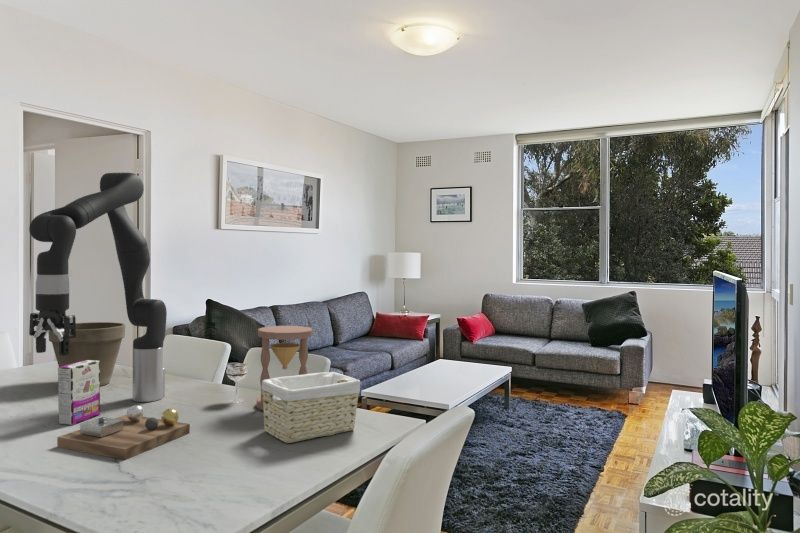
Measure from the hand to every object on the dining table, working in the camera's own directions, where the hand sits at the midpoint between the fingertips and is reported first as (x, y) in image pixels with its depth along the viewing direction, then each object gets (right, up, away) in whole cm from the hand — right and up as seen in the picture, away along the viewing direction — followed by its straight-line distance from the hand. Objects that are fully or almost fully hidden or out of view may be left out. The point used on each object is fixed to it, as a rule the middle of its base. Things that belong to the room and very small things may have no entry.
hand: (52, 353), depth 149 cm
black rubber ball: (+26, -20, +1) cm, 33 cm away
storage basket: (+66, -24, +11) cm, 71 cm away
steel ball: (+18, -20, +8) cm, 28 cm away
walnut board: (+19, -23, 0) cm, 30 cm away
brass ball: (+29, -20, +5) cm, 35 cm away
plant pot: (-24, -20, +60) cm, 67 cm away
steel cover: (+14, -20, -2) cm, 24 cm away
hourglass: (+53, -23, +37) cm, 68 cm away
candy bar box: (-2, -22, +17) cm, 28 cm away
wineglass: (+36, -22, +41) cm, 59 cm away
